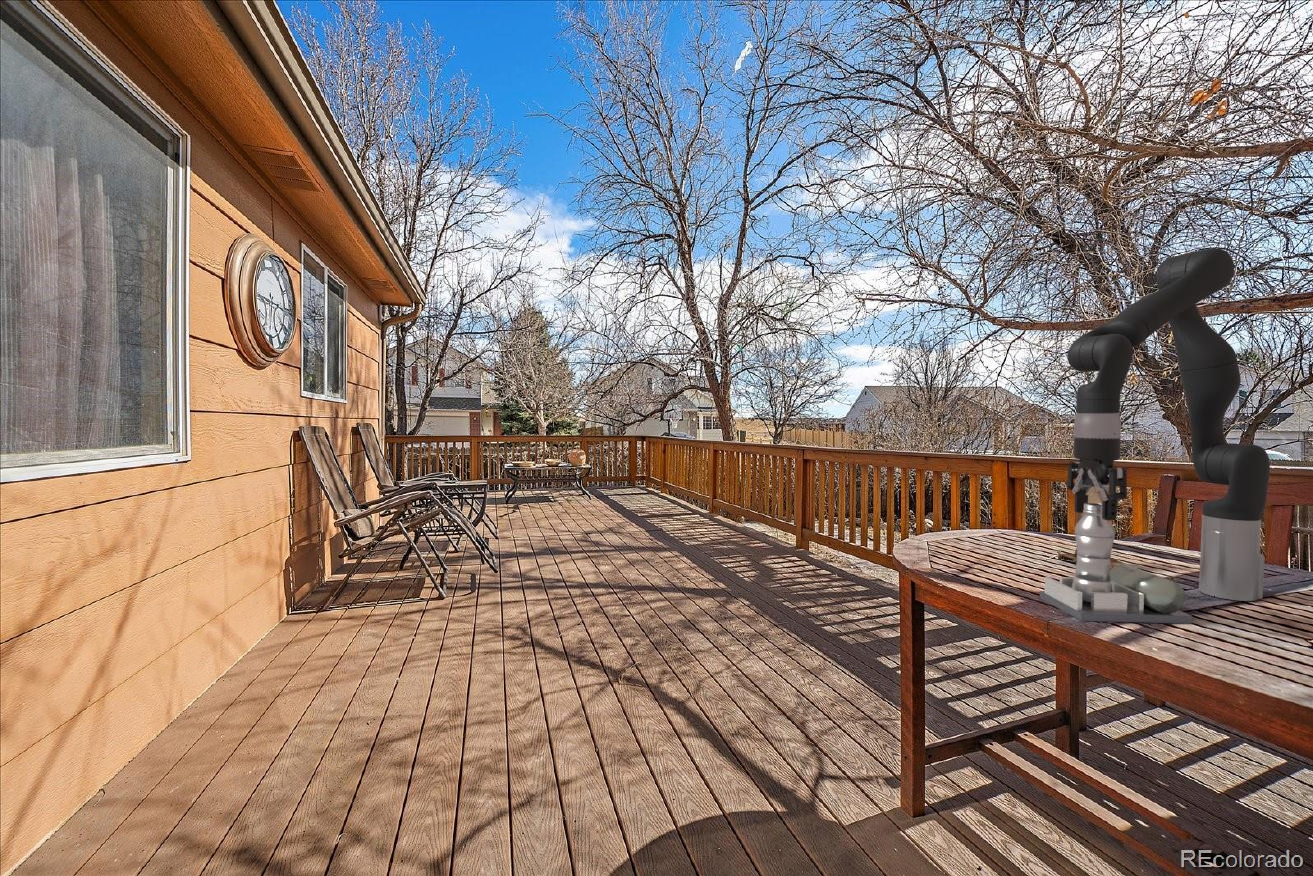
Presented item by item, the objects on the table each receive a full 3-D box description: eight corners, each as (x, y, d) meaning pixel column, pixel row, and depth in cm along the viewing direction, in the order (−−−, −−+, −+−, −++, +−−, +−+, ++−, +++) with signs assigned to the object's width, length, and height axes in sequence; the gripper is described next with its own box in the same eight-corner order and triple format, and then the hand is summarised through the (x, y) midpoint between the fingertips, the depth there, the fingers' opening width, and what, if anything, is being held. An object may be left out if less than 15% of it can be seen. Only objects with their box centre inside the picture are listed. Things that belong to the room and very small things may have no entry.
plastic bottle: (1072, 595, 125) (1075, 500, 124) (1113, 601, 120) (1116, 504, 120) (1069, 602, 120) (1073, 504, 119) (1111, 609, 115) (1115, 507, 115)
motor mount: (1137, 600, 126) (1139, 563, 126) (1191, 623, 112) (1193, 582, 112) (1039, 597, 128) (1040, 561, 127) (1081, 621, 114) (1082, 580, 113)
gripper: (1143, 437, 111) (1140, 523, 112) (1093, 434, 125) (1090, 510, 126) (1101, 437, 112) (1098, 522, 112) (1055, 434, 126) (1054, 510, 127)
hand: (1094, 516), depth 119 cm, fingers open, 8 cm apart
